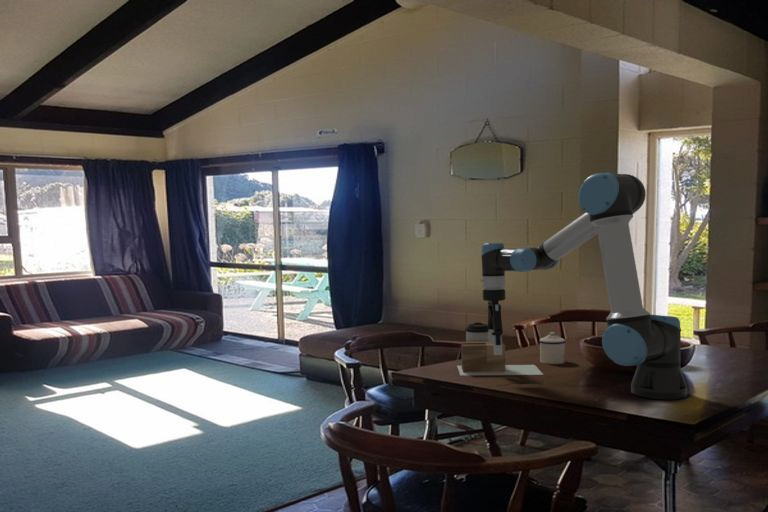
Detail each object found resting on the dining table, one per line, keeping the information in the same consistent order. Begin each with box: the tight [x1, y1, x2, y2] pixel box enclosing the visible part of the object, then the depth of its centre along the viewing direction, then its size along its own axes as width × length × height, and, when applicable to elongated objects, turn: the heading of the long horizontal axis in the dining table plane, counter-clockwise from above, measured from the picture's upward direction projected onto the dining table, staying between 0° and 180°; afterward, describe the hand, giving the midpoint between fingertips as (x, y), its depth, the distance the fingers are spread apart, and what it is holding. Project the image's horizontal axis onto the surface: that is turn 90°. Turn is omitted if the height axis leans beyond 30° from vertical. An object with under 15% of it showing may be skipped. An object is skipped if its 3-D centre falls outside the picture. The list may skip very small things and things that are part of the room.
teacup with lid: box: [539, 331, 566, 365], centre depth 242 cm, size 12×9×12 cm
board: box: [456, 364, 545, 376], centre depth 228 cm, size 16×27×6 cm, turn 88°
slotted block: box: [460, 341, 506, 372], centre depth 228 cm, size 7×14×9 cm, turn 88°
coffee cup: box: [465, 322, 490, 342], centre depth 242 cm, size 9×9×15 cm
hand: (495, 351), depth 227 cm, fingers open, 13 cm apart
